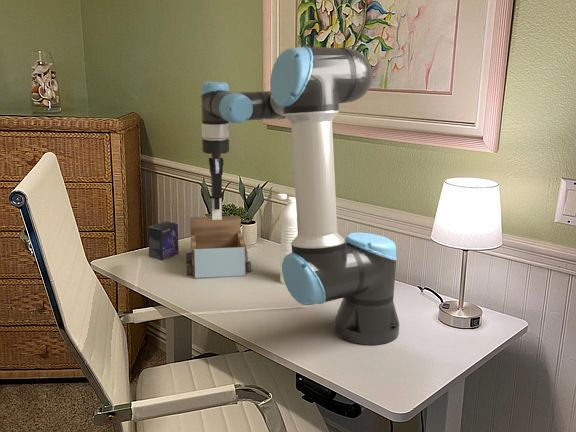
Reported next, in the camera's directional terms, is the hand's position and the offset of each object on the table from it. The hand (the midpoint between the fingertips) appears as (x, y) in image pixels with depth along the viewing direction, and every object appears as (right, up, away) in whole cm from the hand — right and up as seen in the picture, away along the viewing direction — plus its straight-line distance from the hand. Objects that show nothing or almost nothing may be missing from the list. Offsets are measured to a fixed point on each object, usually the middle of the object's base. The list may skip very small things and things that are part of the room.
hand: (216, 218), depth 180 cm
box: (-18, -12, +13) cm, 26 cm away
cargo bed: (0, -15, +6) cm, 16 cm away
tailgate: (+1, -16, -4) cm, 17 cm away
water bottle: (+21, -18, -5) cm, 28 cm away
